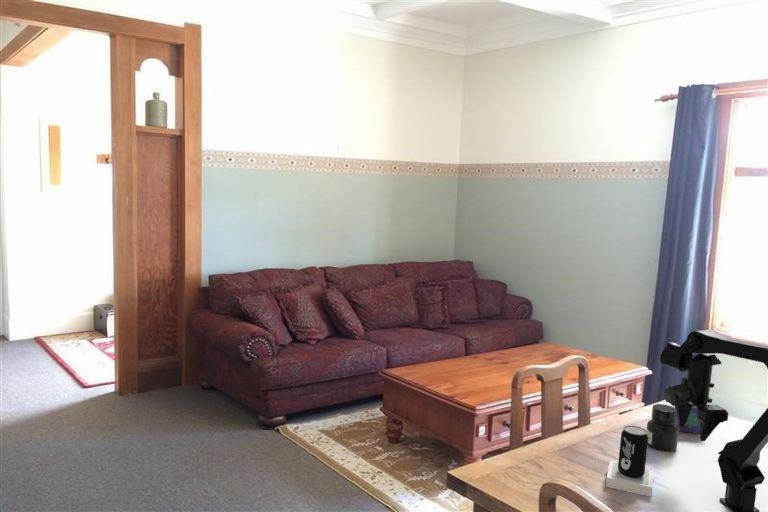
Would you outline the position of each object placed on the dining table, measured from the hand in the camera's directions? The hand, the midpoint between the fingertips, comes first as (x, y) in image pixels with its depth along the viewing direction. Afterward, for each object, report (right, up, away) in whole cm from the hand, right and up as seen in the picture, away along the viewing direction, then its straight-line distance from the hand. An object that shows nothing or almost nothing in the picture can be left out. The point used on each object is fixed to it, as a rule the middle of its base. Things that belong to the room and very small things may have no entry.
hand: (692, 433), depth 169 cm
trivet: (-17, -13, -1) cm, 21 cm away
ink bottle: (+2, -10, +23) cm, 25 cm away
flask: (+15, -10, +35) cm, 39 cm away
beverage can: (-17, -10, -2) cm, 20 cm away
